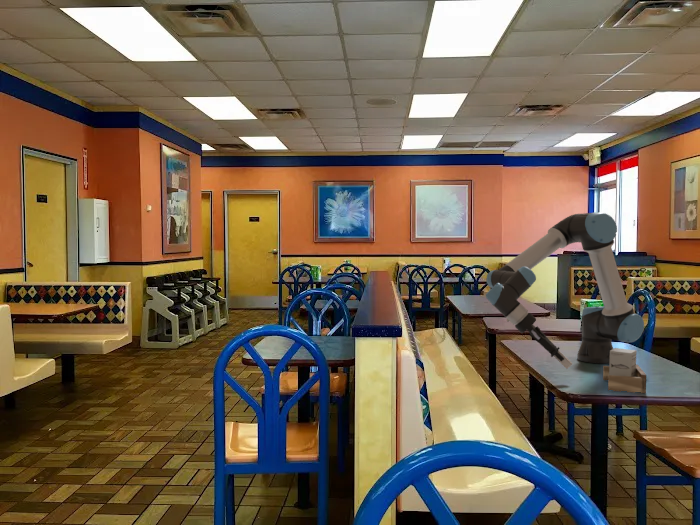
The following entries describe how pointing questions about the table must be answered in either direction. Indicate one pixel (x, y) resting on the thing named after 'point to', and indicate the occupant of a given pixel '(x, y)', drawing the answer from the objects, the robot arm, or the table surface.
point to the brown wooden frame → (626, 381)
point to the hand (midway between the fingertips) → (569, 366)
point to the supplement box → (622, 362)
